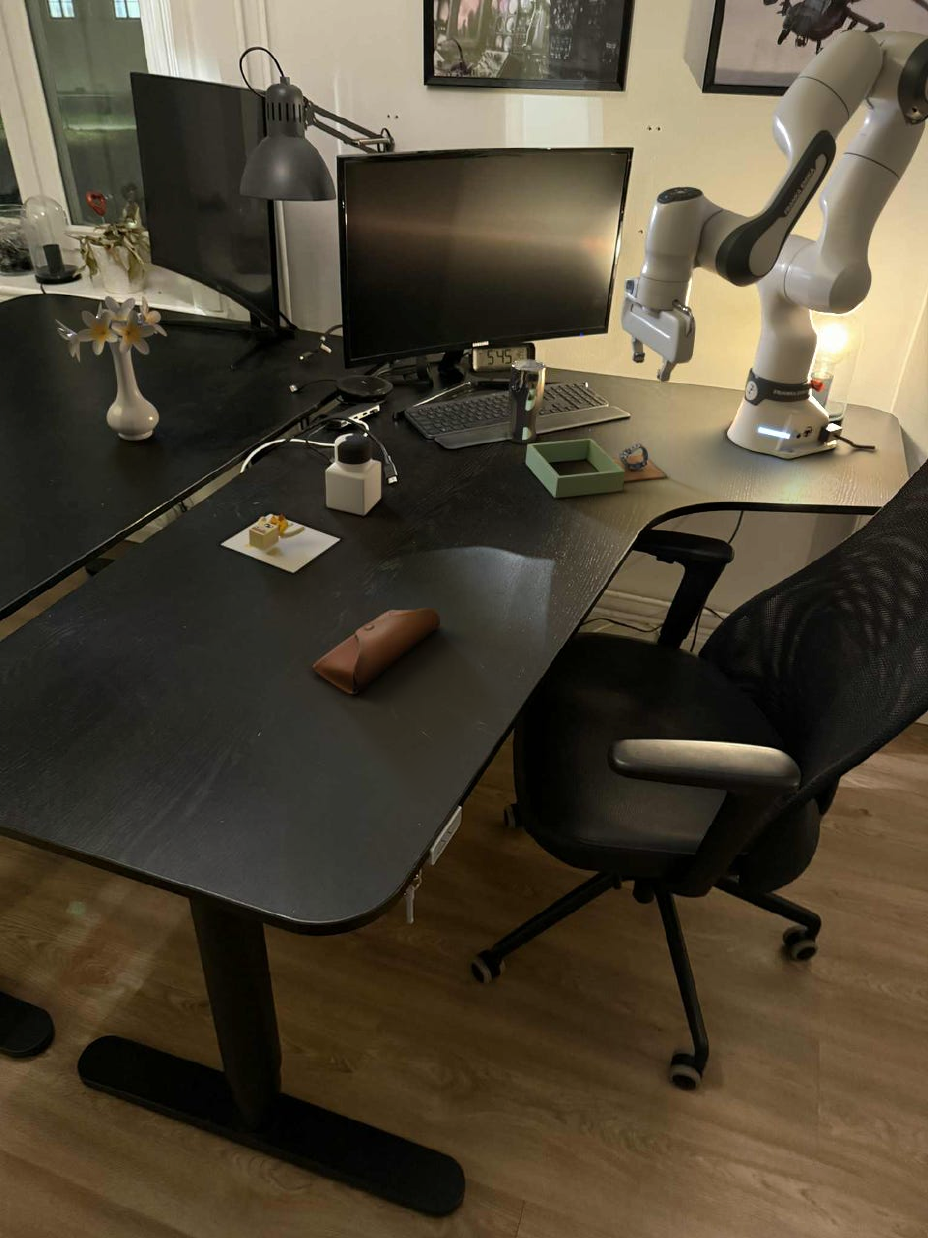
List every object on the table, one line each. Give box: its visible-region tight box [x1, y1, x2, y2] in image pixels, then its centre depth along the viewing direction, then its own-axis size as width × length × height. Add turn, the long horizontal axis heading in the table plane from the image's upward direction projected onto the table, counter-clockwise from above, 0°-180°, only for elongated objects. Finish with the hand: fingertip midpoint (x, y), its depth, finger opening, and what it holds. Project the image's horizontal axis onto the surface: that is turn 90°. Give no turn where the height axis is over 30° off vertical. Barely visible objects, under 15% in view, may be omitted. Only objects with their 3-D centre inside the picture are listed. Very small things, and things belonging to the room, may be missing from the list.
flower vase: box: [55, 295, 168, 442], centre depth 158 cm, size 13×18×25 cm
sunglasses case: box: [312, 607, 441, 695], centre depth 115 cm, size 18×7×7 cm
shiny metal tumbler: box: [506, 358, 547, 444], centre depth 171 cm, size 7×7×15 cm
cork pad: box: [612, 455, 666, 483], centre depth 166 cm, size 9×9×1 cm
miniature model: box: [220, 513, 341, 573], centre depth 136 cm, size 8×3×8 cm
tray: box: [525, 438, 625, 499], centre depth 161 cm, size 13×14×4 cm
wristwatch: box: [618, 442, 649, 470], centre depth 164 cm, size 3×5×5 cm
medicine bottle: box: [325, 433, 382, 517], centre depth 145 cm, size 7×7×12 cm
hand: (649, 370), depth 157 cm, fingers open, 8 cm apart
